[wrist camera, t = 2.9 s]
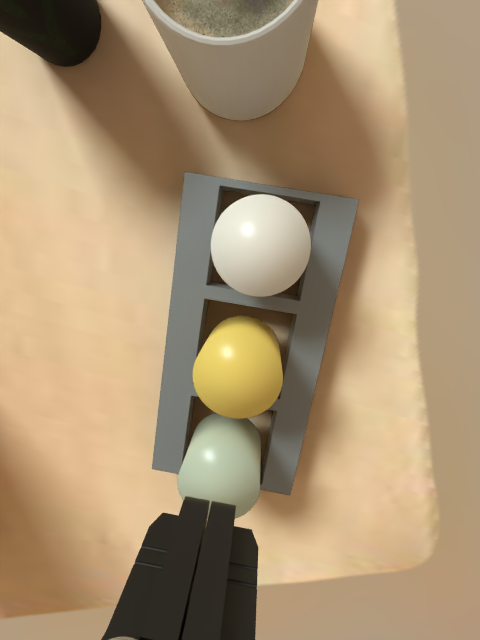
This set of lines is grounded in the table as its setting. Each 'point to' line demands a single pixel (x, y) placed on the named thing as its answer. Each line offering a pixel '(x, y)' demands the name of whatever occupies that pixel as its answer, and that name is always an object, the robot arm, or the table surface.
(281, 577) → the table surface
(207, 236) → the grey compartment tray
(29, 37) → the cup
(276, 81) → the mug
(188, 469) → the sage button
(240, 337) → the mustard button
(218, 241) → the offwhite button
